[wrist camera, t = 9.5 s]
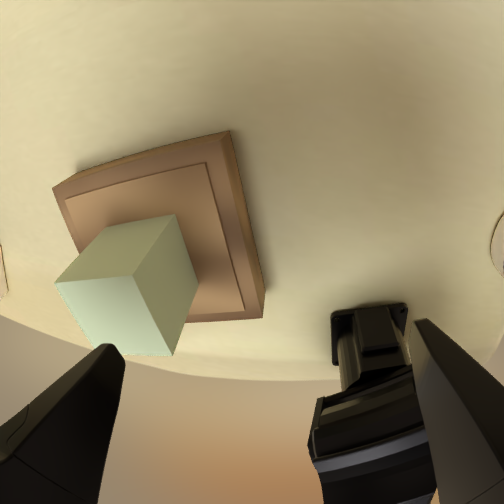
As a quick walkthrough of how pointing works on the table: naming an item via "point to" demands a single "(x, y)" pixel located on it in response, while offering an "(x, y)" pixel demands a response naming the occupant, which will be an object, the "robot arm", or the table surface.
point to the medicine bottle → (2, 278)
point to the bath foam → (498, 247)
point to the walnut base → (179, 216)
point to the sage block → (132, 287)
